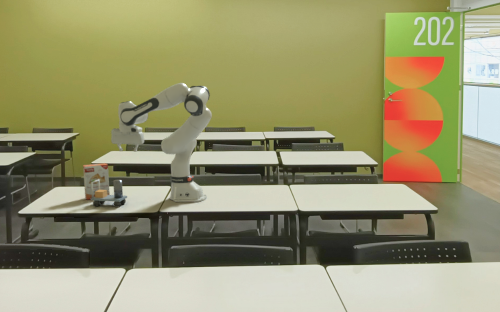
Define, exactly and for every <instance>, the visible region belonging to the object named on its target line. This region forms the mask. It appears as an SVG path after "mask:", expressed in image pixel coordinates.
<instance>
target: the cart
mask: <svg viewBox="0 0 500 312" xmlns="http://www.w3.org/2000/svg"><path fill="white" fill-rule="evenodd" d="M97 181H98V190H100V180H99V179H98V180H95V181H93V182H91V191H92V198H91V199H90V201H93V202H92V205H93V206H94V207H98V206H100V205H101V204H104V203H106V202H113V207H114V208H119V207H120V206H121V205H124V204H126V199H127V198H128V195H123V198H118V199H117V198H114V194H110V195H107V196H106V197H104V198H95V197H94V193H93V183H95V182H97Z"/></svg>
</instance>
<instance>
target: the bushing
mask: <svg viewBox="0 0 500 312" xmlns="http://www.w3.org/2000/svg"><path fill="white" fill-rule="evenodd" d="M112 182H113V195H114V198H117V199H118V198H123V196H124V194H123V179H115V180H112Z"/></svg>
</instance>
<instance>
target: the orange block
mask: <svg viewBox="0 0 500 312" xmlns="http://www.w3.org/2000/svg"><path fill="white" fill-rule="evenodd" d="M106 196H107V190H97V191H95V198H104V197H106Z"/></svg>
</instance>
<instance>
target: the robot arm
mask: <svg viewBox="0 0 500 312" xmlns="http://www.w3.org/2000/svg"><path fill="white" fill-rule="evenodd" d="M210 96H211V93H210V89H208V87H207V86H205V85H191V86H190V87H188V85H187V84H186V83H184V82H179V83H175V84H173V85H170V86H168V87H166V88H164V89H163V90H161V91H159V93H157V94H155V95H154V96H152V97H150V98H149V99H148V100H146V101H143V102H142V103H140V104H137V105H136V104H134V102H132V101H130V100H129V101H122V102H120V103H119V104H118V107H117V108H118V112H117V114H118V119H119V122H118V128H112V129H111V131H110V132H111V133H110V134H111V140H110V142H111V143H112V145H113V144H114V145H117V148H118V149H119V152H123V150H124V148H123V147H122V145H134V146H135V147H134V148H133V152H138V148H139V145H142V144H144V143H145V136H144V133H143V127H141V126H138V125H137V124H143V123H145V122H147V121H148V119H149V113H151V112H154V111H163V110H168V109H172V108H174V107H176V106H178V105H180V104H183V107H184V109H185V110H186V111H187V113H189V114H190V115H189V117H188V118H187V119H186V120H185V121H184V122H183V124H182V125H181V126H179V127H178V128H177V129H176V130H175V131H173V132H171V134H170V135H168V136H166V137H164V139H162V141H161V144H160V147H161V150H162V152H163V153H165V154H166V155H174V158H173V159H172V160H171V162H170V173H171V175H170V185H171V186H170V187H171V188H170V190H171V191H170V195H169V199H170V200H171V201H173V202H175V203H178V202H179V203H188V202H189V203H191V202H193V203H194V202H195V203H198V202H199V203H200V202H202V201H204V200H206V199H207V198H208V196H207V194H204V190H203V187H202V186H201V185H199V184H198V183H196V182H195V181H194V175H191V174H190V172H191V171H190V170H191V169H190V163H191V162H190V161H191V157H192V153H193V151H194V149H195V148H196V147H197V144H198V143H197V142H198V141H197V138H198V137H199V135H201V133H202V132H203V131H204V130H205V129H206V128H207V126H208V125H209V123H210V122H211V119H212V117H213V113H212V111H211V110H210V108H208V107H207V103H208V101H209V100H210Z"/></svg>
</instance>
